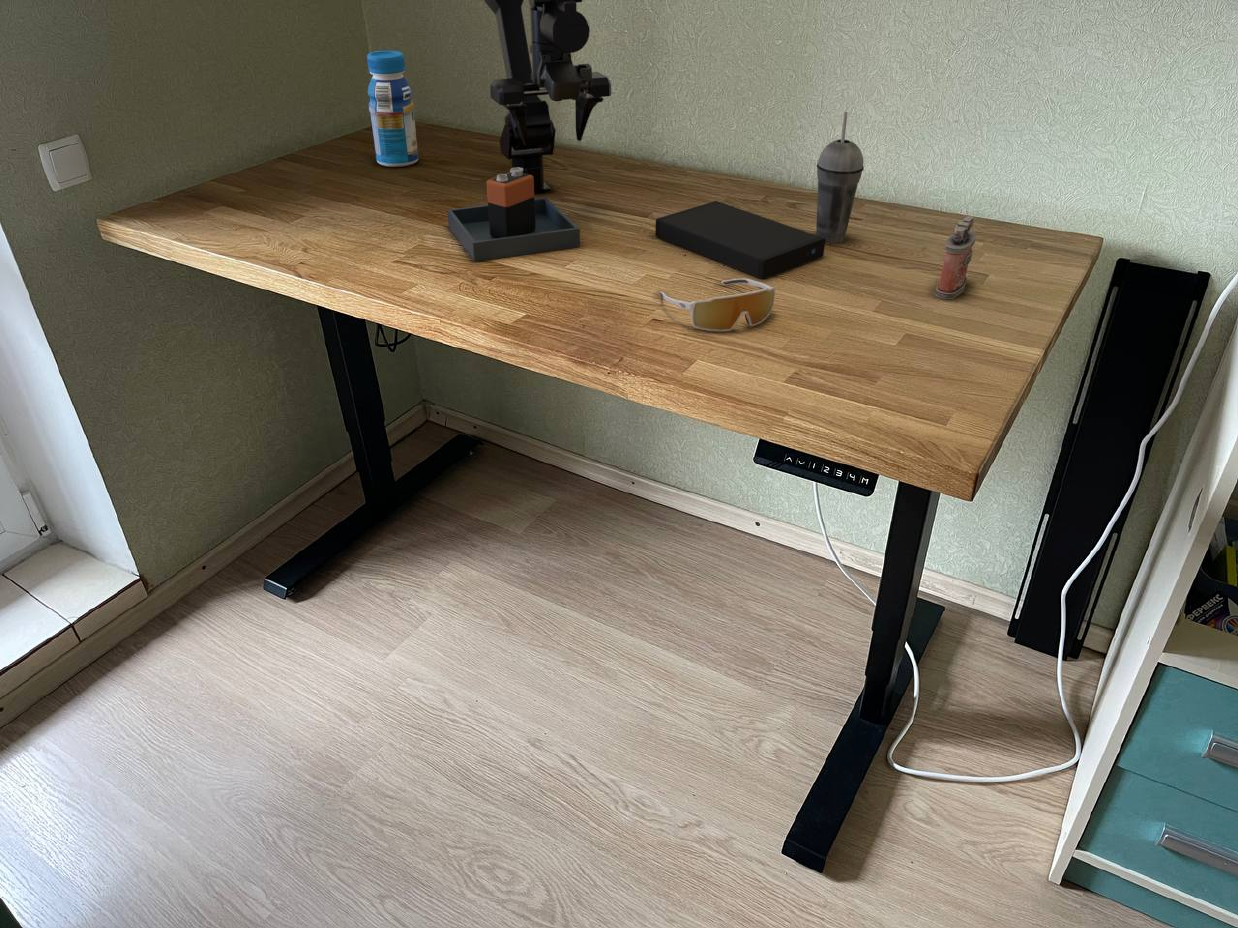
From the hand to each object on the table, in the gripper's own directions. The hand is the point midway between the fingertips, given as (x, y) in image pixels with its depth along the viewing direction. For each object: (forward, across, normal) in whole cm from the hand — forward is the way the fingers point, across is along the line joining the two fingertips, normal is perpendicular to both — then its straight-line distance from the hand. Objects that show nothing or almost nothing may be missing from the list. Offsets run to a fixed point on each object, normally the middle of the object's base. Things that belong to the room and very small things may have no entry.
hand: (552, 143), depth 157 cm
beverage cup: (+12, +38, -27) cm, 48 cm away
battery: (+12, -10, -8) cm, 17 cm away
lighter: (+12, +43, -51) cm, 68 cm away
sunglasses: (+12, +8, -45) cm, 47 cm away
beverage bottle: (+12, -19, +40) cm, 46 cm away
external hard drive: (+12, +22, -25) cm, 35 cm away
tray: (+12, -10, -8) cm, 17 cm away
